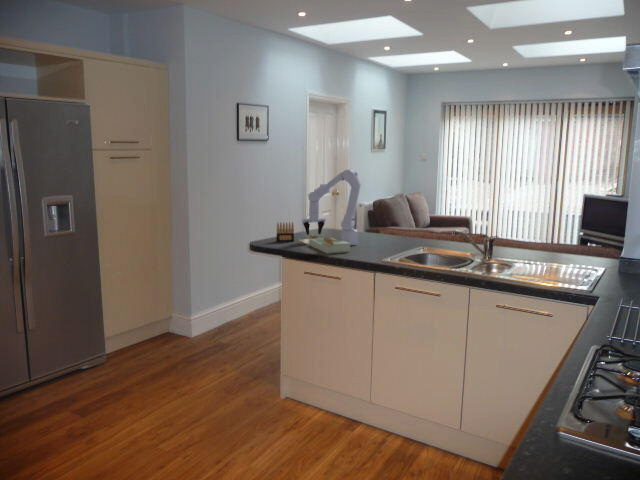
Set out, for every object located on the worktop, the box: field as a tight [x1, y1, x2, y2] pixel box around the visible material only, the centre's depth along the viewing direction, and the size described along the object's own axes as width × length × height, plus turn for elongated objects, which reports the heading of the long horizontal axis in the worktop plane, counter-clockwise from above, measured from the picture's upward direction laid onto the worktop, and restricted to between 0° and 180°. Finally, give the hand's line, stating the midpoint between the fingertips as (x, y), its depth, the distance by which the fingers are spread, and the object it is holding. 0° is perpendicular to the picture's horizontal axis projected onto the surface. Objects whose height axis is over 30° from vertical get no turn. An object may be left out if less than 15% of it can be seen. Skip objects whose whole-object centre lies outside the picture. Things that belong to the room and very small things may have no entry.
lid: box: [298, 234, 319, 246], centre depth 315 cm, size 14×16×4 cm
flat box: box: [309, 237, 351, 255], centre depth 294 cm, size 14×24×5 cm, turn 24°
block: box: [323, 236, 333, 245], centre depth 282 cm, size 3×6×3 cm, turn 24°
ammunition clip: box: [275, 221, 295, 243], centre depth 313 cm, size 11×2×12 cm, turn 102°
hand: (313, 234), depth 315 cm, fingers open, 7 cm apart
